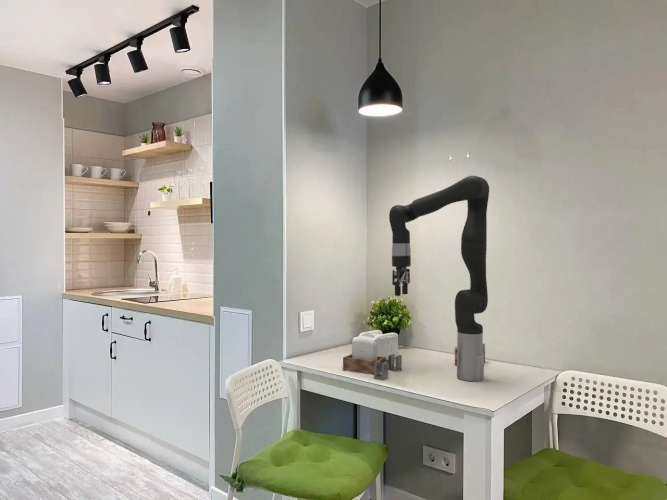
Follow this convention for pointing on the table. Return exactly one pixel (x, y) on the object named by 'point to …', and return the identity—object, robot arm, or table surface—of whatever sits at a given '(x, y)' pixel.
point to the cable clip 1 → (378, 370)
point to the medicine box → (456, 354)
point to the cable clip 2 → (392, 362)
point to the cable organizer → (384, 342)
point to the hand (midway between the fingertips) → (401, 295)
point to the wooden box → (360, 364)
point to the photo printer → (364, 348)
